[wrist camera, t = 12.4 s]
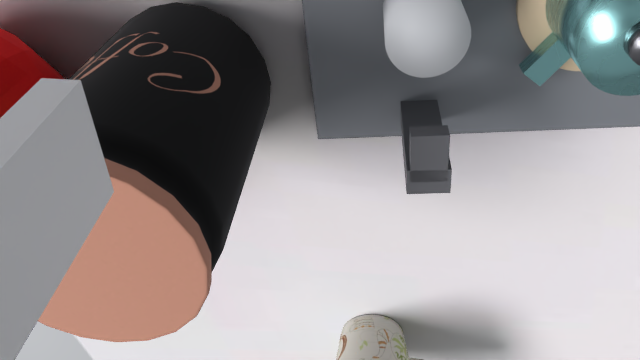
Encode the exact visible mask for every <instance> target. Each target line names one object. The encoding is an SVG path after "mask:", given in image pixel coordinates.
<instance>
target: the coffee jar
mask: <svg viewBox="0 0 640 360" xmlns="http://www.w3.org/2000/svg"><path fill="white" fill-rule="evenodd" d="M69 80H81V83H82V86H83V90H84V93H85V96H86V100H87V103H88V106H89V110H90V113H91V116H92V120H93V123H94V126H95V130H96V133H97V136H98V140H99V143H100V146H101V150H102V153H103V156H104V160H105V163H106V166H107V169H108V173H109V176H110V179H111V183H112V186H113V189H114V193H113V194H112V196H111V198H110V199H109V201H108V203H107V204H106V206H105V208H104V209H103V211H102V213H101V215H100V216H99V218H98V220H97V221H96V223H95V225H94V226H93V228H92V230H91V232H90V233H89V235H88V237H87V238H86V240H85V242H84V243H83V245H82V247H81V248H80V250H79V252H78V254H77V255H76V257H75V259H74V260H73V262H72V264H71V265H70V267H69V269H68V270H67V272H66V274H65V276H64V277H63V279H62V281H61V282H60V284H59V286H58V287H57V289H56V291H55V292H54V294H53V296H52V298H51V299H50V301H49V303H48V304H47V306H46V308H45V309H44V311H43V313H42V314H41V316H40V318H39V320H38V321H39V322H41V323H42V324H44V325H46V326H49V327H52V328H55V329H58V330H61V331H64V332H67V333H70V334H73V335H77V336H80V337H84V338H91V339H98V340H105V341H112V342H128V341H145V340H151V339H154V338H157V337H161V336H164V335H167V334H170V333H173V332H176V331H177V330H179V329H180V328H181V327H183V326H184V325H185V324H187V323H188V322H189V321H191V320H192V319H193V318H195V317H196V316H197V315H198V313H199V311H200V309H201V307H202V305H203V303H204V301H205V300H206V298H207V296H208V294H209V290H210V285H211V272H212V271H213V269H214V267H215V265H216V263H217V261H218V259H219V257H220V255H221V253H222V251H223V248H224V245H225V242H226V239H227V236H228V233H229V230H230V226H231V223H232V220H233V217H234V214H235V211H236V208H237V204H238V201H239V198H240V195H241V192H242V189H243V186H244V182H245V179H246V176H247V173H248V170H249V167H250V164H251V160H252V157H253V154H254V151H255V148H256V145H257V142H258V138H259V135H260V132H261V129H262V126H263V123H264V120H265V116H266V113H267V110H268V107H269V100H270V86H271V82H270V78H269V75H268V71H267V67H266V64H265V60H264V58H263V57H262V55H261V53H260V52H259V50H258V49H257V47H256V46H255V44H254V43H253V41H252V39H251V38H250V36H249V35H248V34H246V33H245V32H244V31H243V30H242V29H241V28H240V27H238V26H237V25H236V24H235V23H234V22H233V21H232V20H230V19H229V18H227V17H225V16H223V15H221V14H219V13H216V12H214V11H212V10H210V9H208V8H206V7H202V6H196V5H189V4H182V3H171V4H165V5H159V6H154V7H150V8H148V9H147V10H145V11H143V12H142V13H140V14H138V15H137V16H135V17H133V18H132V19H130V20H129V21H128V22H127V23H126V24H125V25H124V26H123V27H122V28H121V29H120V30H119V31H118V32H117V33H116V34H115V35H114V36H113V37H112V38H111V39H110V40H109V41H108V42H107V43H106V44H105V45H103V46H102V47H101V48H100V49H99V50H98V51H97V52H96V53H95V54H94V55H93V56H92V57H91V58H90V59H89V60H88V61H87V62H86V63H85V64H84V65H83V66H82V67H81V68H80V69H79V70H78V71H77V72H76V73H75V74H74V75H73V76H72V77H71V78H70V79H69Z"/></svg>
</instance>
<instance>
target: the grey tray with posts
mask: <svg viewBox="0 0 640 360" xmlns="http://www.w3.org/2000/svg"><path fill="white" fill-rule="evenodd" d="M302 4H303V13H304V21H305V30H306V39H307V47H308V56H309V65H310V73H311V82H312V90H313V99H314V108H315V116H316V125H317V134H318V139H334V138H359V137H385V136H402V144H403V156H404V168H405V179H406V191H407V194H423V193H450V188H451V172H452V169H451V164H450V159H449V143H450V134H460V133H485V132H511V131H536V130H561V129H586V128H611V127H637V126H640V95H633V96H620V95H613V94H610V93H606V92H604V91H602V90H599V89H598V88H596V87H595V86H593V85H592V84H591V83H590V82H589V81H588V80H587V79H586V77H585V76H584V75H583V73H582V72H581V70H580V69H579V68H578V66H577V65H576V64H575V62H574V61H573V59H572V58H570V59H569V60H568V61H567V62H565V63H564V64H563V65H562V66H561V67H560V68H559V69H558V70H557V71H556V72H555V73H554V74H553V75H552V76H550V77H549V78H548V79H547V80H546V81H545V82H544V83H543V84H542V85H541V86H539V85H537V84H536V83H535V82H533V81H532V80H531V79H530V78H528V77H527V76H526V75H524V74H523V72H522V70H521V68H520V67H519V64H520V63H521V62H522V61H523V60H524V59H525V58H526V57H527V56H528V55H529V54H530V53H531V52H532V51H533V50H535V49H536V48H537V47H538V46H539V45H540V44H541V43H542V42H543V41H544V40H545V39H546V38H547V37H548V36H549V35H550V34H551V33H552V31H551V29H550V27H549V25H548V22H547V19H546V0H302Z"/></svg>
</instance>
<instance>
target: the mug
mask: <svg viewBox="0 0 640 360" xmlns="http://www.w3.org/2000/svg"><path fill="white" fill-rule="evenodd" d="M336 360H422V359H416V358H408V353H407V348H406V343H405V339H404V334H403V331H402V329H401V327H400V326H399V325H398V324H397V323H396V322H395V321H393V320H392V319H390V318H387V317H384V316H381V315H362V316H358V317H355V318H353V319H351V320H350V321H348V322H347V323H346V324H345V326H344V327H343V329H342V333H341V337H340V342H339V347H338V352H337V356H336Z"/></svg>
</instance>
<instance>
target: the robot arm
mask: <svg viewBox="0 0 640 360" xmlns="http://www.w3.org/2000/svg"><path fill="white" fill-rule="evenodd" d="M113 193H114V189H113V186H112V183H111V179H110V176H109V173H108V169H107V166H106V163H105V160H104V156H103V153H102V150H101V146H100V143H99V140H98V136H97V133H96V130H95V126H94V123H93V120H92V116H91V113H90V110H89V106H88V103H87V100H86V96H85V93H84V90H83V86H82V83H81V80H68V79H47V78H41V79H40V80H39V81H38V82H37V83H36V84H35V85H34V86H33V87H32V88H31V89H30V90H29V91H28V92H27V93H26V94H25V95H24V96H23V97H22V98H21V99H20V100H18V101H17V102H16V103H15V104H14V105H13V106H12V107H11V108H10V109H9V110H8V111H7V112H6V113H5V114H4V115H3V116H2V117H1V118H0V360H15V359H16V357H17V355H18V353H19V352H20V350H21V348H22V346H23V345H24V343H25V341H26V340H27V338H28V337H29V335H30V333H31V331H32V330H33V328H34V326H35V325H36V323H37V321H38V320H39V318H40V316H41V314H42V313H43V311H44V309H45V308H46V306H47V304H48V303H49V301H50V299H51V298H52V296H53V294H54V292H55V291H56V289H57V287H58V286H59V284H60V282H61V281H62V279H63V277H64V276H65V274H66V272H67V270H68V269H69V267H70V265H71V264H72V262H73V260H74V259H75V257H76V255H77V254H78V252H79V250H80V248H81V247H82V245H83V243H84V242H85V240H86V238H87V237H88V235H89V233H90V232H91V230H92V228H93V226H94V225H95V223H96V221H97V220H98V218H99V216H100V215H101V213H102V211H103V209H104V208H105V206H106V204H107V203H108V201H109V199H110V198H111V196H112V194H113Z"/></svg>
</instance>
